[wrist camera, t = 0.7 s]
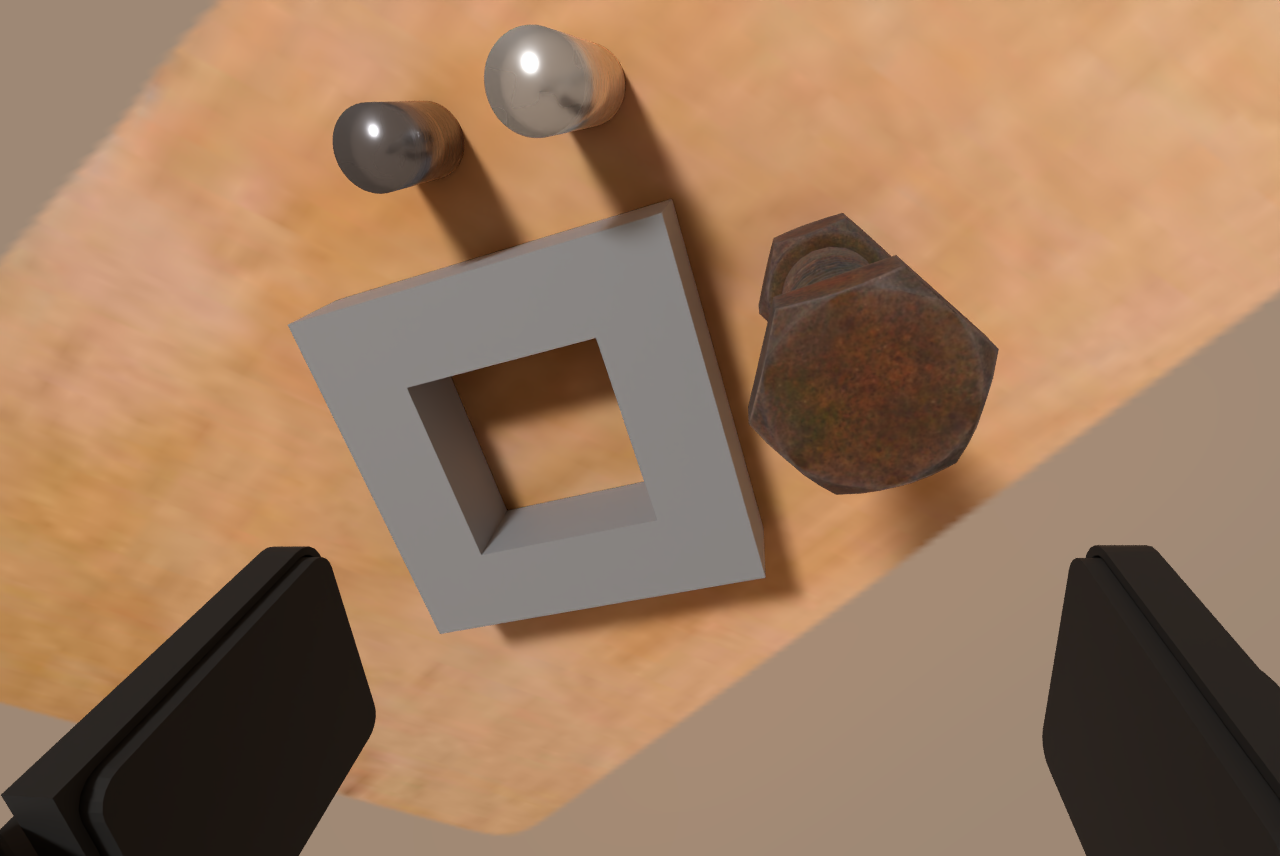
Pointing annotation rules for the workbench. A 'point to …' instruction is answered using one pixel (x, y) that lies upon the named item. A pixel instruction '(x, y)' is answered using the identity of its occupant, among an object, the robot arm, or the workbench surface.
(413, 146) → the pin short
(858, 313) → the bolt
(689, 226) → the workbench surface
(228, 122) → the workbench surface
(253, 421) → the workbench surface
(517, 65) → the pin mid
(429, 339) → the frame
